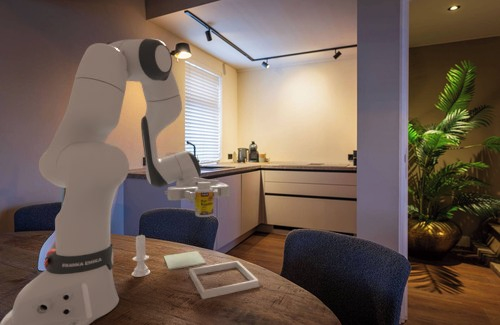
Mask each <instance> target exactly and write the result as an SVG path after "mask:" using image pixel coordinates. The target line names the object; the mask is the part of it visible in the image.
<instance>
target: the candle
mask: <svg viewBox="0 0 500 325" xmlns="http://www.w3.org/2000/svg"><path fill="white" fill-rule="evenodd" d="M135 247H136V250H135V251H136V255H135V256H134V257H132V260H133V261H134V262H137V263H136V266H135V268H134V269H133V272H132V273H131V276H132V277H135V278H139V277H140V278H141V277H145V276H148V275H149V274H150V273H151V270H150V269H149V267H148V266H147V265H146V263H145V261H147V260H148V259H149V258H150V255H146V236H145V235H143V234H140V235H137V236H136V237H135Z"/></svg>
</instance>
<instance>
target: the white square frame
mask: <svg viewBox="0 0 500 325" xmlns="http://www.w3.org/2000/svg"><path fill="white" fill-rule="evenodd" d="M234 268H235V269H237V270H238V271H239V272H240V273H241V274H242V275H243V276H244V277H245V278H246V279H247V281H243V282H238V283H232V284H228V285H224V286H217V287H213V288H207V289H205V288H204V287H203V284H202V283H201V281H200V279H199V278H198V276H197V275H201V274H202V275H203V274H207V273H213V272H218V271H224V270H225V271H226V270H229V269H234ZM188 272H189V274H188V275H189V277H190V278H191V280H192V283H193V284H194V286H195V287H196V290H197V292H198V293H199V295H200V297H201V299H202V300H205V299H210V298H214V297H220V296H223V295H229V294H232V293H237V292H241V291H246V290H247V291H248V290H250V289H255V288H259V286H260V285H259V284H260V280H259V279H258V278H257V277H256V276H255V274H252V273H251V271H249V270H248V268H246V267H245V266H244V264H242V263H241V262H240V261H239V260H235V261H228V262H222V263H217V264H211V265H204V266H200V267H193V268H189V270H188Z"/></svg>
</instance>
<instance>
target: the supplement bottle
mask: <svg viewBox="0 0 500 325" xmlns="http://www.w3.org/2000/svg"><path fill="white" fill-rule="evenodd" d="M210 187H211V185H210V182H198V183H197V189H195V193H196V195H195V196H196V198H195V203H194V212H195V213H194V214H195V216H196V217H198V218H208V217H212V216H213V215H214V198H213V189H212V188H210Z"/></svg>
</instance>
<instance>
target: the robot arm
mask: <svg viewBox="0 0 500 325" xmlns="http://www.w3.org/2000/svg"><path fill="white" fill-rule="evenodd" d="M172 67H173V58H172V54H171V52H170V49H169V48H168V47H167V45H166V44H165V43H164V42H163V41H161V40H160V39H157V38H156V39H155V38H144V39H142V38H137V39H130V38H127V39H122V40H117V41H114V42H113V41H111V42H107V43H103V42H100V43H99V42H98V43H96V42H95V43H93V44H91V45H89V46H88V47H87V48H86V50H85V52H84V54H83V55H82V58H81V60H80V62H79V65H78V67H77V70H76V73H75V77H74V80H73V85H72V88H71V92H70V97H69V100H68V104H67V107H66V111H65V113H64V115H63V118H62V120H61V123H60V124H59V126H58V128H57V130H56V132H55V134H54V137H52V139H51V140H52V141H51V143H50V144H49V146H48V147H47V149H46V150H45V151H44V152H43V154H42V155H41V157H40V158H39V161H38V170H39V172H40V174H41V176H42V177H43V178H44V179H45V180H47V181H48V182H49V183H51V184H53V185H55V186H56V187H59V188H64V189H65V193H64V198H63V201H62V202H63V203H62V206H61V208H60V211H59V212H58V213H57V215H56V217H55V219H54V226H55V227H54V228H55V229H54V232H55V234H54V235H55V236H54V238H55V248H51V249H49V251H48V252H46V257H45V258H44V262H43V263H44V264H43V265H44V268H45V269H44V270H43V271H42V272H40V274H39V275H37V276H36V277H34V278H33V279H32V280H31V281H29V282H28V283H27V284H26V285H25V286H24V287H23V288H22V289H21V290H20V291H19V293H18V294H17V295H16V298H15V300H14V303H13V307H12V309H11V310H10V311H9V312H8V313H7V314H5V316H4V317H3V318H2V320H1V321H0V325H90V324H91V323H93V322H94V321H96V320H98V319H99V318H101V317H103V316H105V315H106V314H108V313H109V312H111V311H112V310H113V309H114V308H116V307H117V305H118V303H119V301H120V298H119V296H118V292H117V288H116V286H115V281H114V276H113V267H114V249H113V243H111V216H112V215H111V214H112V207H113V204H114V203H113V202H114V200H115V197H116V193H117V192H118V189H119V187H120V186H121V185H122V184H123V183H124V181H125V180H126V178H128V174H129V170H130V162H129V158H128V156H127V155H126V153H125V152H124V151H123V150H122V149H121V148H120V147H117V146H115V145H112V144H109V143H106V141H107V139H108V138H109V136H110V134H111V133H112V132H113V131H114V130H115V129H116V128H117V127H118V124H119V122H120V117H121V113H122V109H123V103H124V98H125V93H126V89H127V82H137V83H138V82H139V83H140V84H141V86H142V87H141V88H142V93H143V96H144V97H143V98H144V100H145V104H146V108H145V109H146V110H145V115H143V117H142V118H141V120H140V122H141V123H140V127H141V137H142V146H143V154H144V161H145V176H146V180H147V181H148V183H149V185H150V186H152V187H154V188H158V189H162V188H164V187H166V186H168V185H170V184H172V183H175V182H176V185H174V186H168V187H167V189H166V190H164V194H165V195H167V200H168V201H183V200H185V201H187V202H189V203H192V204H195V198H196V196H195V195H196V193H195V189H197V183H198V182H210V185H211V187H210V188H212V189H213V199H218V198H225V197H226V198H227V197H230V195H231V188H230V185H229V184H227V183H224V182H220V180H219V179H210V178H209V179H208V178H202V177H201V173H202V170H201V165H200V163H199V161H198V159H197V157H196V155H195V154H193V153H192V152H190V151H188V150H183V151H180V152H176V153H173V154H170V155H168V156H165V157H161V158H159V157H158V148H157V138H158V136H159V134H161V132H163V131H164V129H166V128H167V127H169V126H170V125H171V124H173V123H174V122H175V121H176V120H178V118H179V117H180V115H181V113H182V110H183V104H182V97H181V93H180V89H179V86H178V82H177V80H176V77H175V75H174V73H173V71H172Z"/></svg>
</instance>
